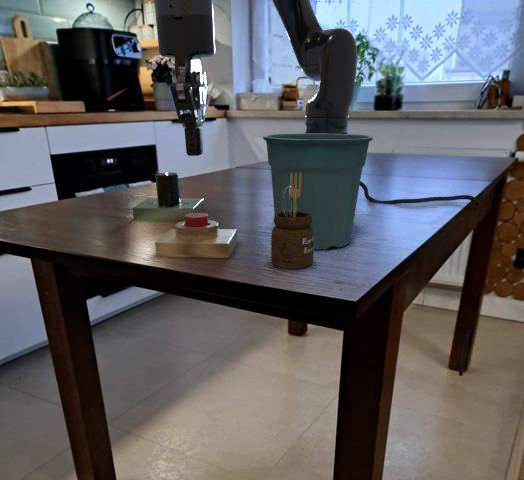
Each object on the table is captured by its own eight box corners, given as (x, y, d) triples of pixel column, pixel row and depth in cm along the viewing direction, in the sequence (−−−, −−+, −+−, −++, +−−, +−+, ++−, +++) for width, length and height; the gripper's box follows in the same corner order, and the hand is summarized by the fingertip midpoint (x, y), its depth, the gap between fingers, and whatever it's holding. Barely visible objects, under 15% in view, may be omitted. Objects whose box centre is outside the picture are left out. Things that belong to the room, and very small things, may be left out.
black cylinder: (160, 200, 105) (158, 170, 103) (182, 200, 105) (179, 170, 102) (155, 204, 101) (152, 173, 99) (177, 204, 101) (175, 173, 98)
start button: (210, 224, 81) (210, 212, 80) (206, 229, 78) (205, 217, 77) (188, 223, 81) (187, 212, 80) (182, 229, 78) (181, 217, 77)
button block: (237, 242, 85) (236, 217, 83) (228, 258, 76) (227, 231, 75) (171, 241, 86) (169, 217, 84) (156, 257, 77) (153, 230, 76)
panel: (204, 210, 108) (203, 197, 107) (194, 221, 99) (193, 207, 98) (148, 210, 109) (147, 197, 108) (133, 220, 100) (131, 206, 99)
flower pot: (315, 225, 95) (318, 130, 88) (385, 242, 84) (396, 134, 76) (243, 240, 86) (241, 135, 79) (311, 261, 74) (315, 141, 67)
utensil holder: (268, 269, 71) (267, 179, 66) (274, 257, 77) (274, 172, 71) (311, 271, 70) (314, 179, 65) (314, 258, 76) (317, 172, 70)
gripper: (169, 22, 74) (180, 150, 82) (141, 8, 62) (157, 161, 70) (220, 20, 73) (227, 150, 81) (203, 6, 62) (212, 160, 69)
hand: (194, 155), depth 75 cm, fingers closed
